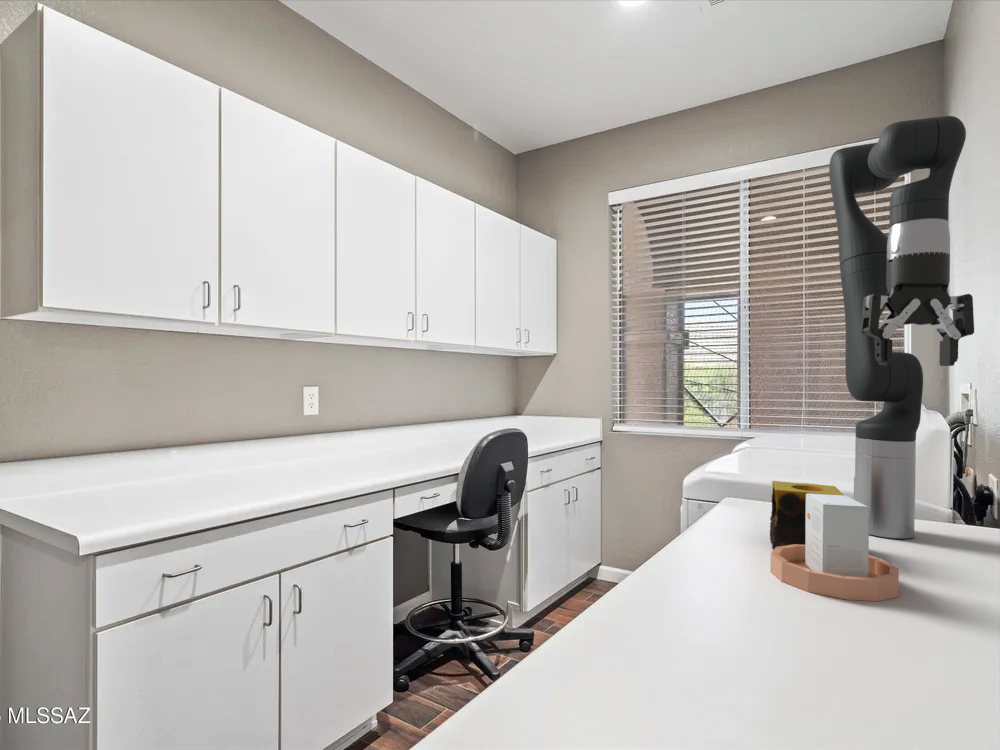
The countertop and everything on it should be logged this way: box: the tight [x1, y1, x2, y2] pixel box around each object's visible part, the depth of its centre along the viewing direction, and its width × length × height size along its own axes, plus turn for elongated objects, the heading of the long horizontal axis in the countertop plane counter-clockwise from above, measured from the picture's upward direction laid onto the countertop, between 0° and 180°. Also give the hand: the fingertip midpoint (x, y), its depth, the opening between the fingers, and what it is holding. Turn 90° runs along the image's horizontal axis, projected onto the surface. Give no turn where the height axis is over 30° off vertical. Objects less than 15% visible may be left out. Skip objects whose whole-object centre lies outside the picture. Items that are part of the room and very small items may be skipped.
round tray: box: [769, 544, 900, 602], centre depth 78 cm, size 15×15×3 cm
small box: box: [805, 493, 870, 577], centre depth 78 cm, size 8×6×10 cm
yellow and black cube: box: [769, 480, 845, 551], centre depth 94 cm, size 10×10×10 cm
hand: (915, 365), depth 83 cm, fingers open, 8 cm apart
